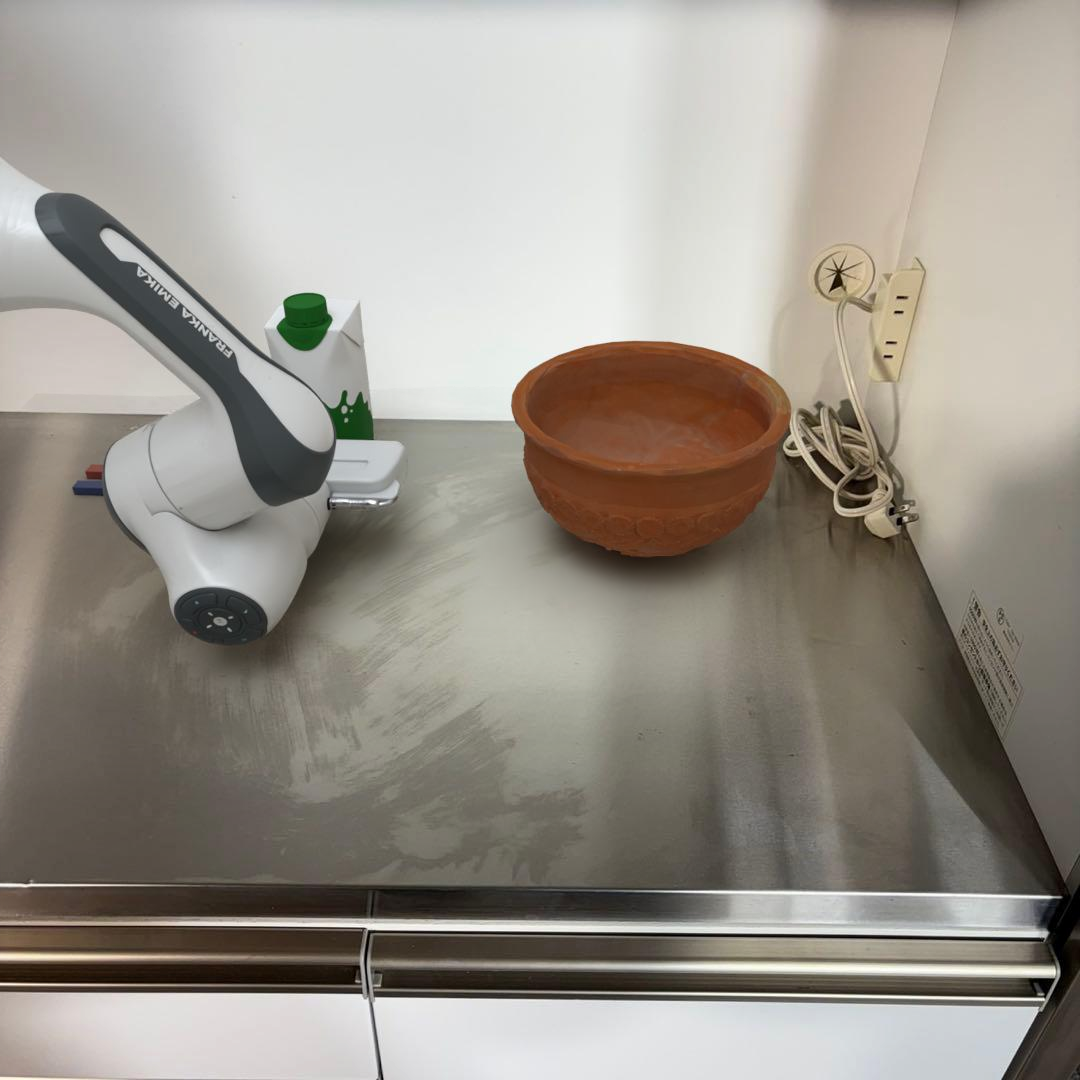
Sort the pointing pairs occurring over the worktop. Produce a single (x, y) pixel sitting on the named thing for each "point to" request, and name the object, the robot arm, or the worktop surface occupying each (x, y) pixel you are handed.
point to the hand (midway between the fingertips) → (318, 428)
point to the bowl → (649, 443)
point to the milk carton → (326, 356)
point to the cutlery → (90, 482)
